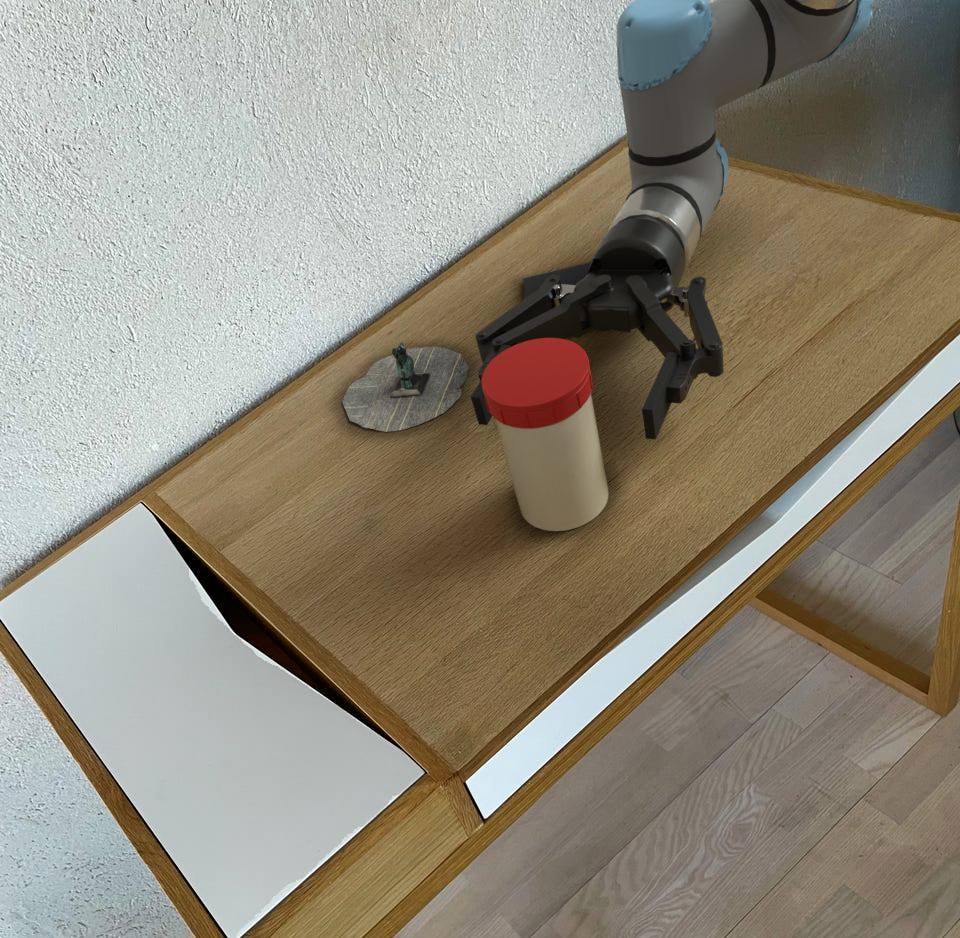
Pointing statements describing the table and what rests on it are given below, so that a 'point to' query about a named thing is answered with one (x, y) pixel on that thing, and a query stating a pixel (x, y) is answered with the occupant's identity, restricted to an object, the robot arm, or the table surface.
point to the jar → (557, 470)
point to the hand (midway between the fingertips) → (560, 418)
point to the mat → (566, 276)
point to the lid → (537, 383)
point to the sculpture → (406, 388)
